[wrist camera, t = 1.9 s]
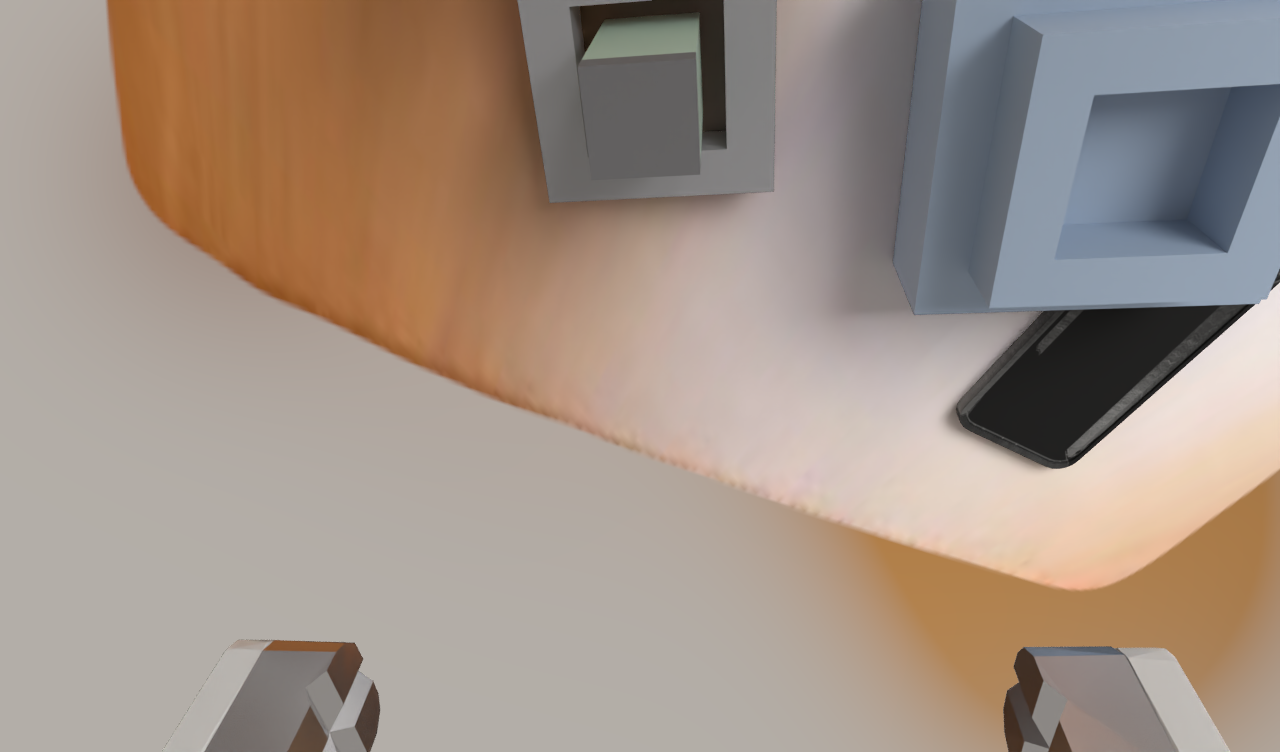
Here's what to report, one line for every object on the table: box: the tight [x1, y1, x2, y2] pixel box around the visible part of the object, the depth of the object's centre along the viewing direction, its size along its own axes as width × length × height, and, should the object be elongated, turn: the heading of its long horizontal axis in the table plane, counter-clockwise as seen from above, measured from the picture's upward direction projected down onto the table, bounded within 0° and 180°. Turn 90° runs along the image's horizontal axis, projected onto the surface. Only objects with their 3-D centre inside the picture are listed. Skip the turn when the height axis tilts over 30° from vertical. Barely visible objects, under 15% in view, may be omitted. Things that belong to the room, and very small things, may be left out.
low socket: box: [517, 0, 777, 203], centre depth 33 cm, size 10×10×2 cm
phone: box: [956, 269, 1280, 469], centre depth 40 cm, size 8×1×15 cm
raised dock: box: [893, 0, 1280, 315], centre depth 30 cm, size 14×14×8 cm
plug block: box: [577, 12, 703, 180], centre depth 31 cm, size 4×4×8 cm
